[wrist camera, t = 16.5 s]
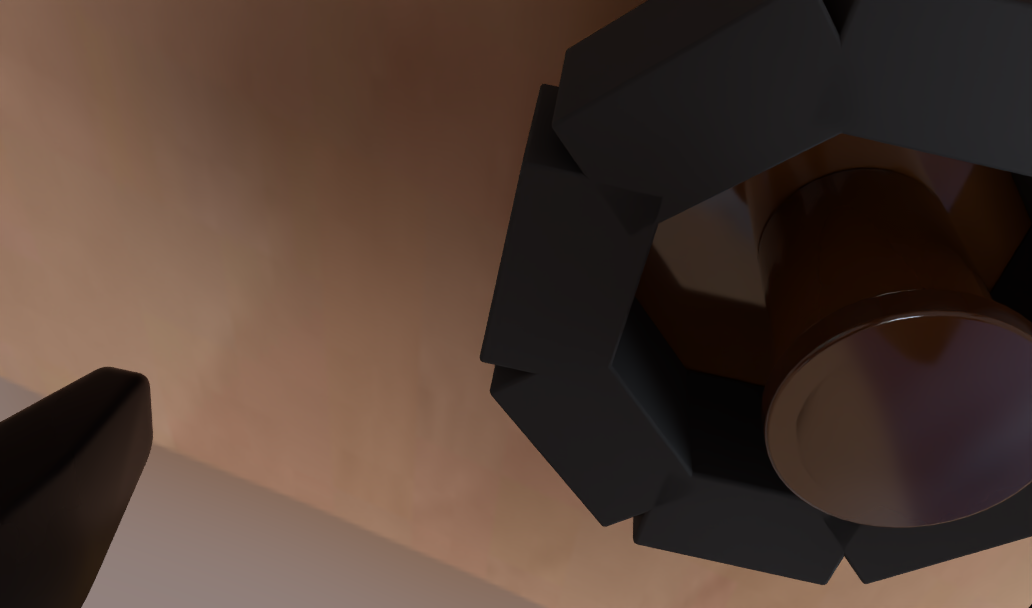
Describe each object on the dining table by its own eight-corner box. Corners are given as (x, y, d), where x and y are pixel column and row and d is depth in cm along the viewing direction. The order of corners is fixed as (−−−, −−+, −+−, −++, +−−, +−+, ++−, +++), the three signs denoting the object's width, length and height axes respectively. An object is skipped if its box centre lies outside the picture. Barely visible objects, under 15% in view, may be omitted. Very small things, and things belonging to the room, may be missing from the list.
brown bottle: (642, 284, 21) (638, 642, 14) (580, -51, 17) (527, 194, 10) (997, 240, 20) (1221, 619, 12) (1023, -142, 16) (1388, 66, 8)
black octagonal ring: (1313, 22, 12) (1455, 103, 10) (965, 510, 17) (1008, 627, 15) (591, -147, 11) (579, -102, 9) (471, 400, 17) (447, 504, 15)
